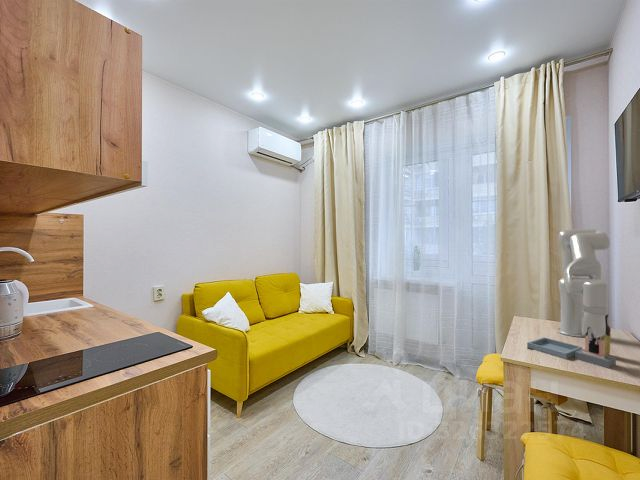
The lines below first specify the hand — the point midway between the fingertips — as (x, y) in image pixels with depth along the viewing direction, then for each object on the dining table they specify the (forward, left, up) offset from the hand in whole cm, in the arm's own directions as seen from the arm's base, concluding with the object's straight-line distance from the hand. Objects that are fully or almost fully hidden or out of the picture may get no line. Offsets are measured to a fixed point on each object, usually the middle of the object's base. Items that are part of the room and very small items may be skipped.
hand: (594, 352), depth 126 cm
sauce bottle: (-12, -2, -5) cm, 13 cm away
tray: (0, -15, -5) cm, 16 cm away
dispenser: (0, 0, -5) cm, 5 cm away
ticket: (0, 0, -4) cm, 4 cm away
